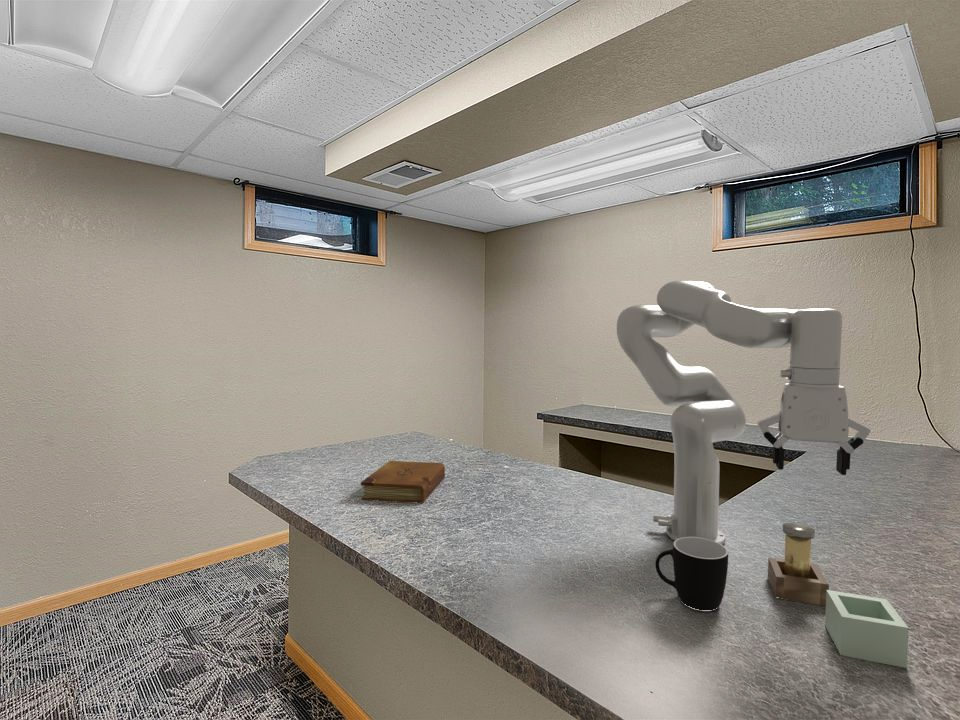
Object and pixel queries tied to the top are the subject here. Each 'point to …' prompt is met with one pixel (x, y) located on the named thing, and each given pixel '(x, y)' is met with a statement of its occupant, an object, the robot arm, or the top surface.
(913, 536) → the top surface
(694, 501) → the robot arm
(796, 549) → the pin
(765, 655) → the top surface
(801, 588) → the mount
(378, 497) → the diary
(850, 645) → the socket
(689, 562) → the mug
